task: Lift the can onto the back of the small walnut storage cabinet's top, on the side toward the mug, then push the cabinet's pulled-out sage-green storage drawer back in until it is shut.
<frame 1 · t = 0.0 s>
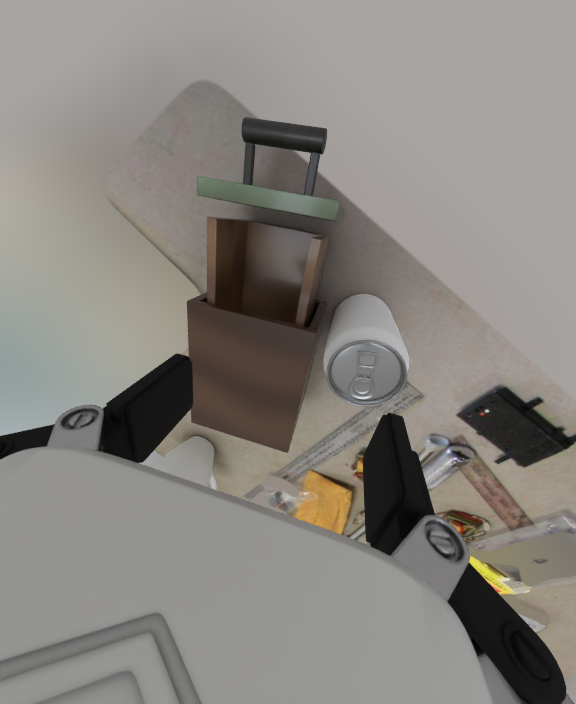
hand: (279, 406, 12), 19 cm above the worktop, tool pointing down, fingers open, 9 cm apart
mug: (208, 450, 46), on the worktop
cabinet: (271, 344, 32), on the worktop
can: (360, 320, 28), on the worktop
drawer: (272, 253, 23), point 5 cm above the worktop, slide at 8.0 cm
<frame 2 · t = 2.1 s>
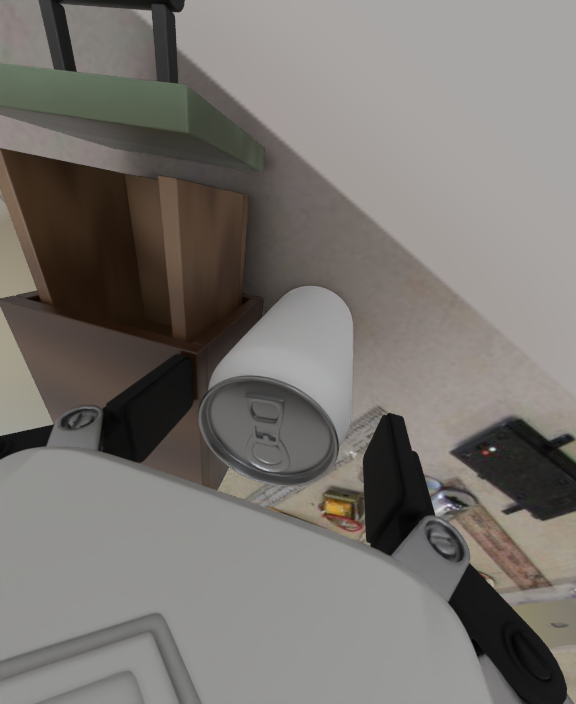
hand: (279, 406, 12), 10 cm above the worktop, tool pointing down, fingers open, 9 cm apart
cabinet: (199, 356, 24), on the worktop
can: (312, 323, 20), on the worktop
drawer: (148, 221, 14), point 5 cm above the worktop, slide at 8.0 cm
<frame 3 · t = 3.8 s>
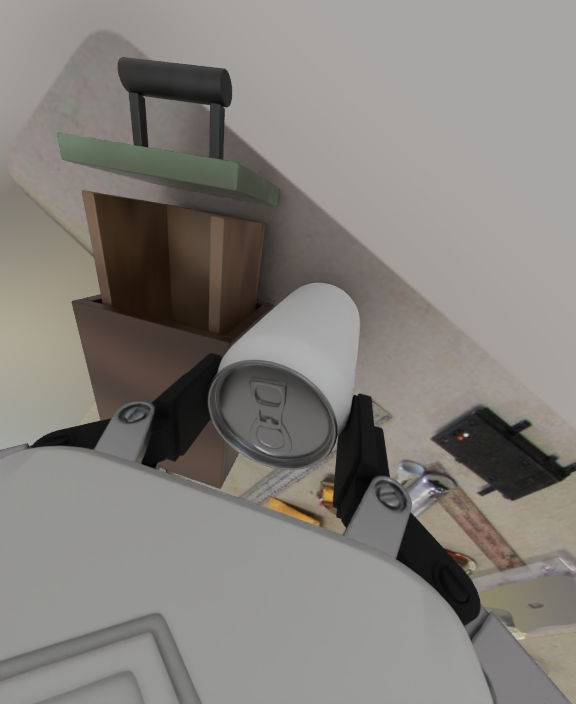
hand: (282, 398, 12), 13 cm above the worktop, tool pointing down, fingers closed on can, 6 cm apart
cabinet: (215, 355, 28), on the worktop
can: (319, 320, 20), point 3 cm above the worktop, touching gripper
drawer: (188, 242, 18), point 5 cm above the worktop, slide at 8.0 cm
when the fingers open (19 cm above the worktop, at t = 7.2 s): can stays where it is, resting on cabinet.
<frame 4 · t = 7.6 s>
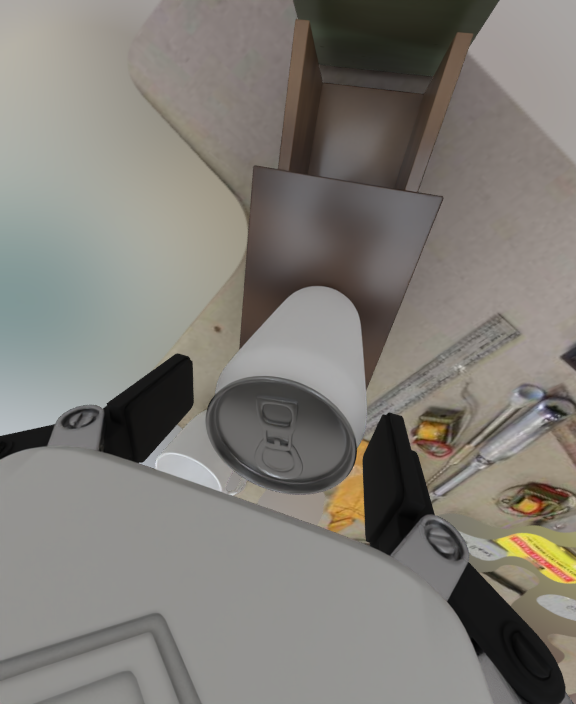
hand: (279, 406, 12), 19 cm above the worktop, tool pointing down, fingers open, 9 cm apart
mug: (237, 418, 40), on the worktop
cabinet: (328, 275, 27), on the worktop
can: (318, 325, 19), point 9 cm above the worktop, touching cabinet
drawer: (364, 111, 17), point 5 cm above the worktop, slide at 8.0 cm
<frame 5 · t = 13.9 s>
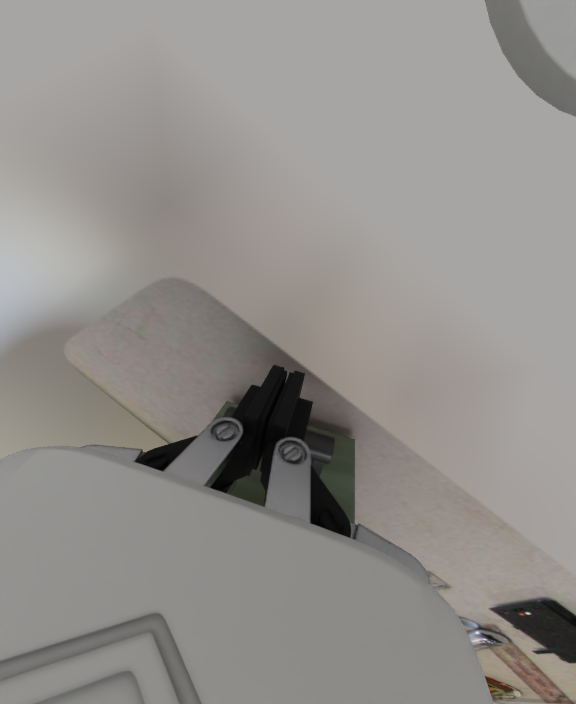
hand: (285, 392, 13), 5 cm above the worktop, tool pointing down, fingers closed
drawer: (266, 501, 18), point 5 cm above the worktop, slide at 7.0 cm
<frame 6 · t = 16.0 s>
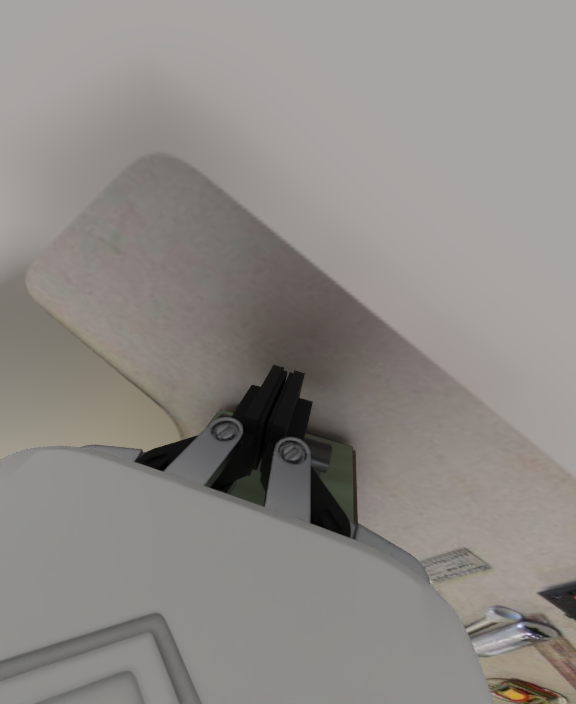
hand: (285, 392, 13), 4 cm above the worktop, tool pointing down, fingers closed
drawer: (261, 513, 17), point 5 cm above the worktop, slide at 0.0 cm, touching cabinet, gripper
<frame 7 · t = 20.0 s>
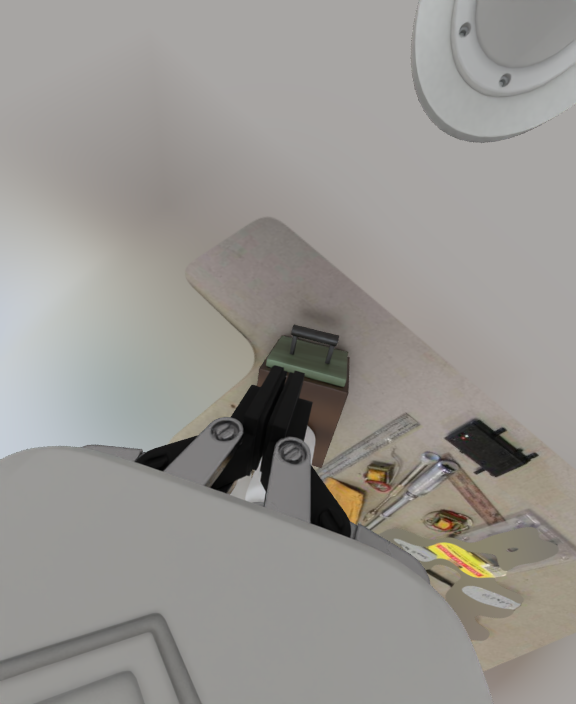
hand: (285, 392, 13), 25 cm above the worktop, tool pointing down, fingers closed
mug: (245, 460, 56), on the worktop
cabinet: (304, 384, 43), on the worktop
can: (293, 433, 36), point 9 cm above the worktop, touching cabinet
drawer: (304, 381, 37), point 5 cm above the worktop, slide at 0.0 cm, touching cabinet
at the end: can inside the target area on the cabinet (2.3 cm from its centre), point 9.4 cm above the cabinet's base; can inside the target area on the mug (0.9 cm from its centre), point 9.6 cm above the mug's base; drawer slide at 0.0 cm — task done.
